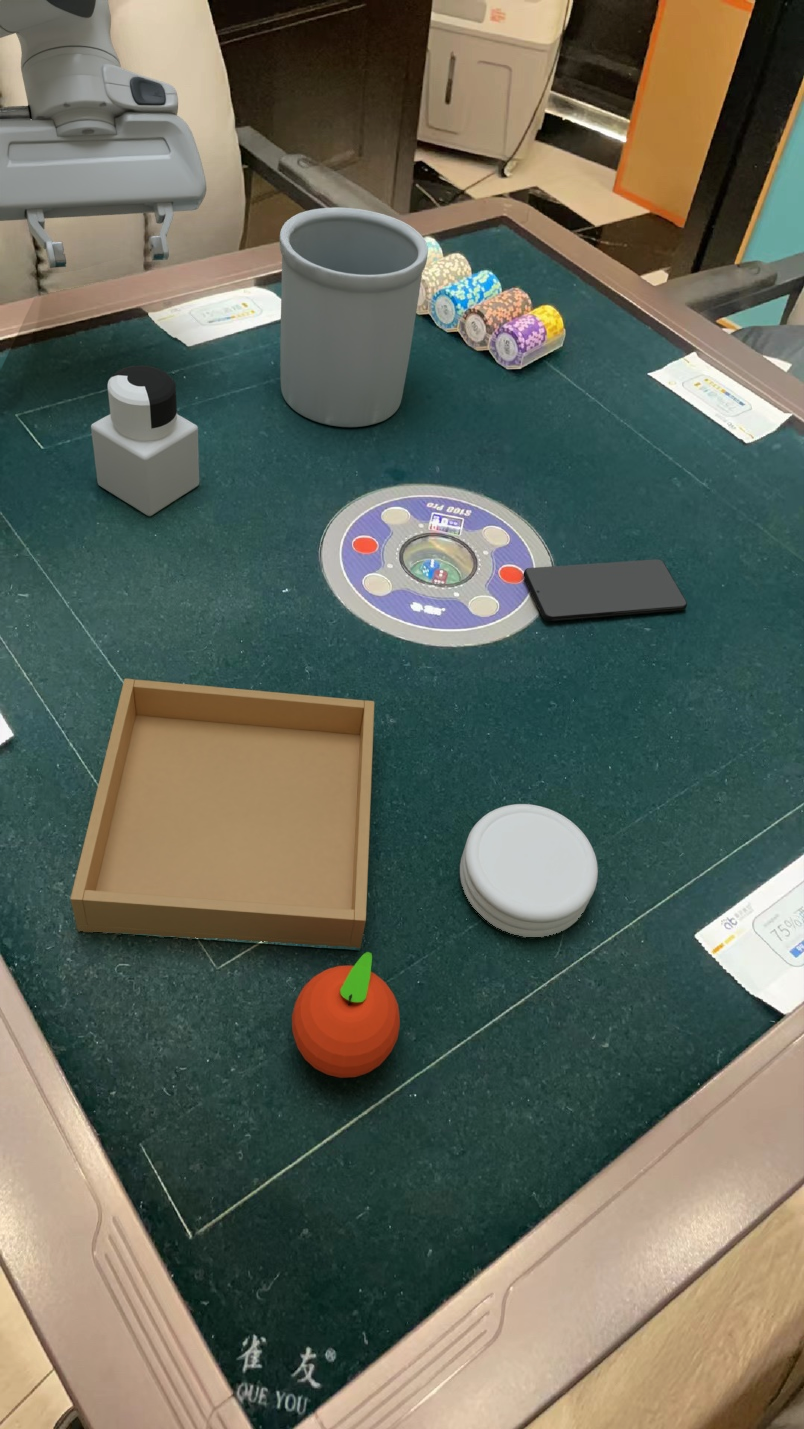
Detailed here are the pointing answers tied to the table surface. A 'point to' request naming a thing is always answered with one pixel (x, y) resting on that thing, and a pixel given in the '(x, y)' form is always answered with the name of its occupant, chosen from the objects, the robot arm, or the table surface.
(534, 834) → the white round disc
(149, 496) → the medicine bottle
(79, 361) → the table surface
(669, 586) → the smartphone
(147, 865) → the bin
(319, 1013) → the clementine
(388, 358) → the utensil holder
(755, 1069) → the table surface
